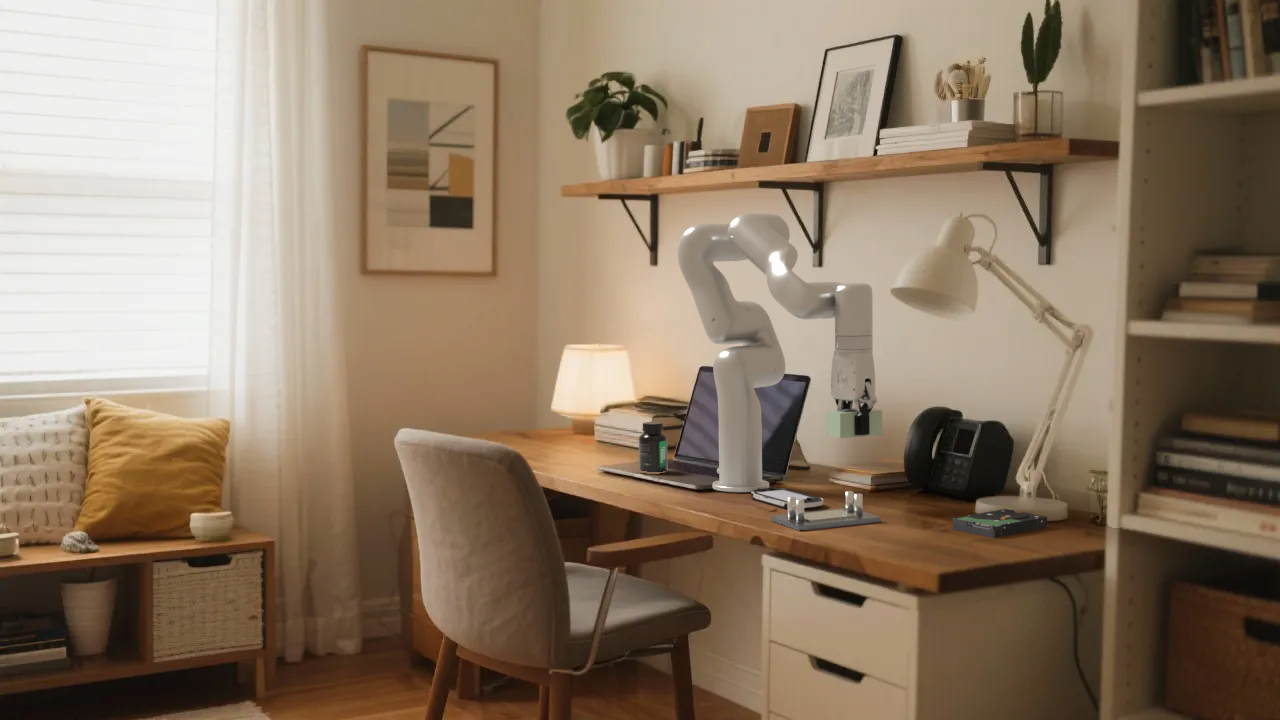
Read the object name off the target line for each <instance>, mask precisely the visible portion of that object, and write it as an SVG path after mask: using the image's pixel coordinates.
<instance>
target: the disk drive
mask: <svg viewBox="0 0 1280 720" xmlns="http://www.w3.org/2000/svg"><path fill="white" fill-rule="evenodd" d="M1047 528H1048V516H1045V515H1041V514H1040V515H1039V514H1033V513H1028V512H1015V510H1013V509H1007V508H1004V509H1002V508H1001V509H996V510H992V511H987V512H979V513H973V514H969V515H961V516H957V517H952V530H954V531H957V532H958V531H959V532H964V533H967V534H968V533H970V534H974V535H977V536H983V537H987V538H992V539H995V538H996V539H997V538H1002V537H1006V536H1012V535H1018V534H1024V533H1027V532H1032V531H1037V530H1038V531H1039V530H1043V529H1047Z"/></svg>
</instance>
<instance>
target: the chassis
mask: <svg viewBox="0 0 1280 720" xmlns="http://www.w3.org/2000/svg"><path fill="white" fill-rule="evenodd" d="M844 493H845V495H844V496H845V504H844V505H845V507H843V508H833V509H825V510H823V509H822V510H811V511H805V510H804V500H802V499H798V500H796V497H787V504H788V509H787V513H786V514H775V515H770V522H772V521H774V522H773V523H775V522H777V523H776V524H778V523H779V525H781V524H783V525H782V526H784V525H785V526H784V527H786V526H788V527H787V528H789V527H791V528H790V529H792V528H793V529H792V530H795V529H796V530H795V531H798V530H799V531H798V532H801V531H800V530H804V531H811V530H812V531H813V530H821V529H829V528H838V527H839V528H840V527H848V526H855V525H856V526H858V525H866V524H876V523H881V519H882V518H881V516H878V515H875V514H872V513H869V512H865V511H864V510H863V509H864V508H863V506H864V505H863V495H864V494H862V493H854V491H852V490H847V491H845V492H844Z"/></svg>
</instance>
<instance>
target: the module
mask: <svg viewBox="0 0 1280 720" xmlns="http://www.w3.org/2000/svg"><path fill="white" fill-rule="evenodd" d="M855 416H857V413H856V407H855V408H854V407H853V408H852V409H840V410H837V409H835V410H826V436H829V437H834V438H837V439H847V438H857V437H871V436H882V435H883V410H882V409H877V408H876V409H875V408H872V410H871V415H869V434H868V435H855Z"/></svg>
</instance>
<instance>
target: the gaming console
mask: <svg viewBox="0 0 1280 720" xmlns="http://www.w3.org/2000/svg"><path fill="white" fill-rule="evenodd" d="M750 493H751V494H750V498H752V499H753V500H754V501H756V502H761V503H764V504H767V505H770V506H774V507H777V508H781V509H785V510H788V504H787V497H796V500H798V499H802V500H804V511H815V510H818V509H819V510H820V509H821V508H822V507H823V505H824V498H822V497H819V496H815V495H812V494H809V493H805V492H801V491H797V490H793V489H789V488H783V487H782V488H780V487H773V486H771V487H770V486H769V488H763V489H760V488H758V489H755V490H752V491H751V492H750Z"/></svg>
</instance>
